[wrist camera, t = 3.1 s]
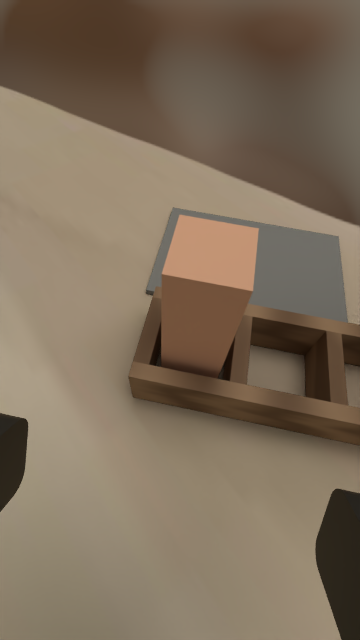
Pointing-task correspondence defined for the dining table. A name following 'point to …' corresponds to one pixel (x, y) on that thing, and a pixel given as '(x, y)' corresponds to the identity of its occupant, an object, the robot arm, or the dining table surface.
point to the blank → (205, 293)
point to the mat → (281, 268)
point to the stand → (254, 402)
